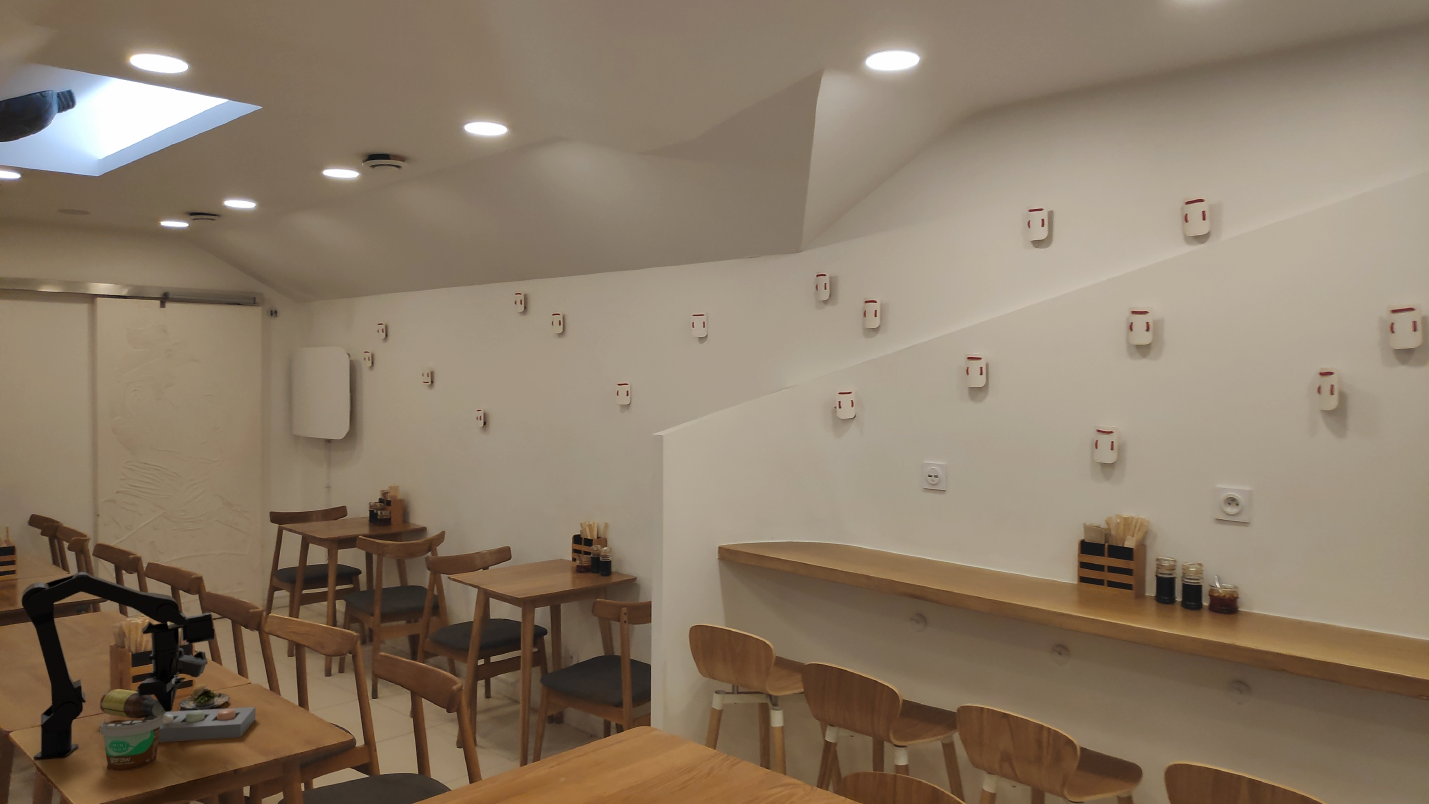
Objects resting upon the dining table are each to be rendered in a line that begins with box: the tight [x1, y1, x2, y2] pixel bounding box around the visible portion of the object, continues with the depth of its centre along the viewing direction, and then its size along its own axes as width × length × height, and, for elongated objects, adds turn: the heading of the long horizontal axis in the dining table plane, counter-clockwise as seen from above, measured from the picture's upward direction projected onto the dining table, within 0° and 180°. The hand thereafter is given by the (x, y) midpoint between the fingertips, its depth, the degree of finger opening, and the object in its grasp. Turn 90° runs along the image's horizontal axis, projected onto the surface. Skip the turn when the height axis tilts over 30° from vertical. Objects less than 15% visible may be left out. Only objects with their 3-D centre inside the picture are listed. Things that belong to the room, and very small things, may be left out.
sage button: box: [186, 711, 205, 722], centre depth 218 cm, size 4×4×3 cm
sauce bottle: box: [99, 688, 166, 719], centre depth 222 cm, size 7×6×20 cm
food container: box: [99, 715, 164, 772], centre depth 197 cm, size 12×6×10 cm, turn 105°
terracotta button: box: [217, 708, 235, 720], centre depth 220 cm, size 4×4×3 cm
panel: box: [142, 706, 256, 743], centre depth 218 cm, size 12×24×3 cm, turn 102°
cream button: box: [154, 715, 173, 723], centre depth 217 cm, size 4×4×3 cm
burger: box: [178, 680, 231, 711], centre depth 236 cm, size 12×12×8 cm
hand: (168, 711), depth 217 cm, fingers closed
